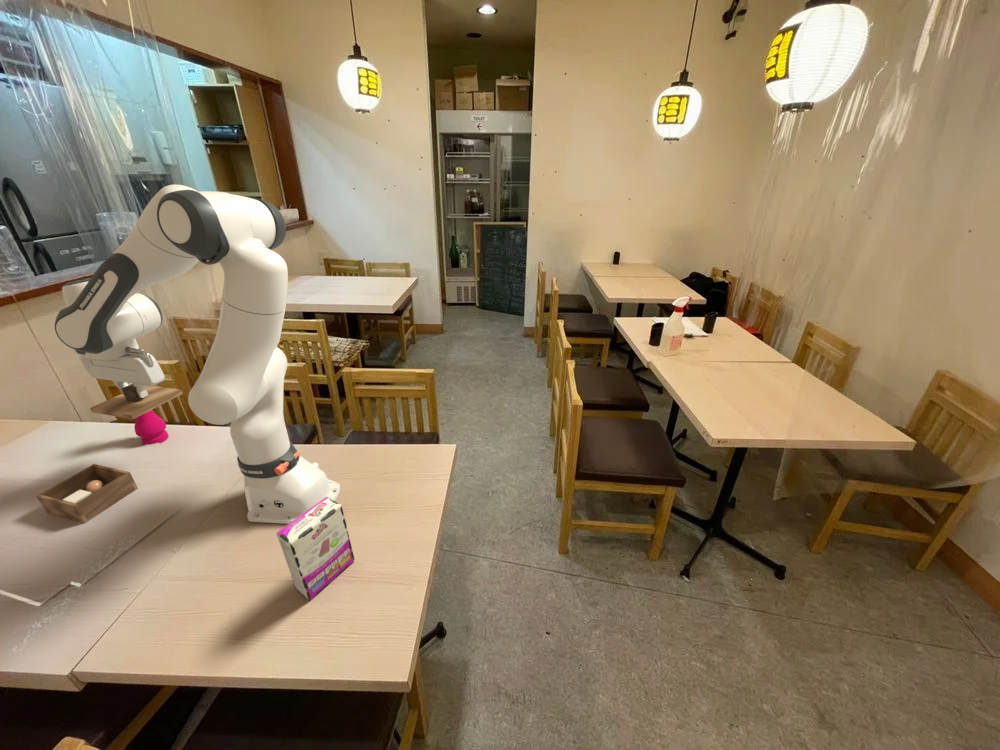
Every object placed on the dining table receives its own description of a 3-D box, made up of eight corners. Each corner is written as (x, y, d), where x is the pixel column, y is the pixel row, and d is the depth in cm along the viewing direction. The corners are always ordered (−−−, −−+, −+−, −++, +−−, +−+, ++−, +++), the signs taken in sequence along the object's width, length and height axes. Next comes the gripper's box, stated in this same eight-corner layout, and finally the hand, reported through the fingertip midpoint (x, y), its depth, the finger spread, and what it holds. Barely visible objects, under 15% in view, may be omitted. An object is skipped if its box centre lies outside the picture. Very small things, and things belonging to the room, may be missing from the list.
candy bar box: (340, 550, 88) (327, 494, 81) (355, 560, 86) (343, 504, 79) (293, 589, 80) (274, 531, 72) (309, 602, 78) (291, 544, 70)
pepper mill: (154, 448, 119) (127, 390, 110) (134, 445, 120) (106, 387, 111) (176, 434, 125) (152, 378, 116) (157, 431, 127) (132, 375, 118)
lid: (182, 393, 108) (176, 378, 105) (133, 419, 96) (125, 402, 94) (144, 387, 110) (137, 372, 108) (92, 412, 99) (83, 395, 97)
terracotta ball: (109, 488, 103) (103, 478, 102) (95, 496, 101) (89, 487, 99) (99, 485, 104) (94, 476, 103) (85, 494, 101) (80, 484, 100)
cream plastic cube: (97, 503, 99) (90, 492, 97) (80, 513, 95) (73, 502, 94) (86, 500, 99) (79, 489, 98) (69, 510, 96) (62, 499, 95)
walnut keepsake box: (139, 489, 104) (129, 472, 101) (86, 524, 93) (74, 505, 91) (104, 481, 106) (94, 463, 104) (48, 514, 96) (36, 496, 93)
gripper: (160, 345, 97) (180, 394, 103) (95, 337, 101) (118, 385, 107) (133, 355, 91) (156, 406, 97) (66, 346, 95) (92, 396, 102)
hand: (136, 395), depth 102 cm, fingers closed on lid, 3 cm apart
